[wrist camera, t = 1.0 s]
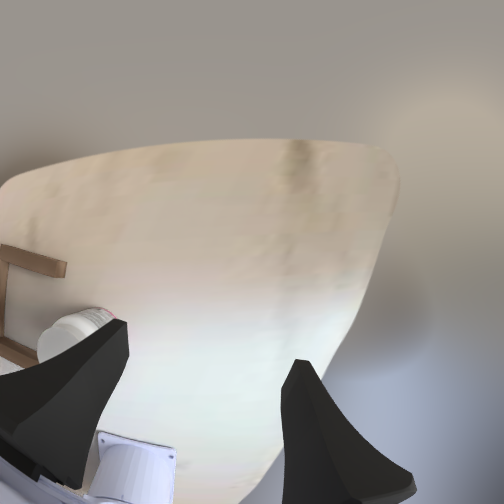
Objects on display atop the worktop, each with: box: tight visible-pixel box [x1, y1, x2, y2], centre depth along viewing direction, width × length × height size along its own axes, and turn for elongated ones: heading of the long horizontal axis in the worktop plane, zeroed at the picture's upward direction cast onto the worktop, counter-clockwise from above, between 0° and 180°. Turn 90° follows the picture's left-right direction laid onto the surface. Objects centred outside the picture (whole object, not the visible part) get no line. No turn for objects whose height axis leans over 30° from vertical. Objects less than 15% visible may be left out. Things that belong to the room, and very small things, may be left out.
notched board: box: [0, 244, 67, 369], centre depth 18 cm, size 11×10×2 cm
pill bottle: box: [37, 308, 118, 363], centre depth 16 cm, size 5×5×8 cm
